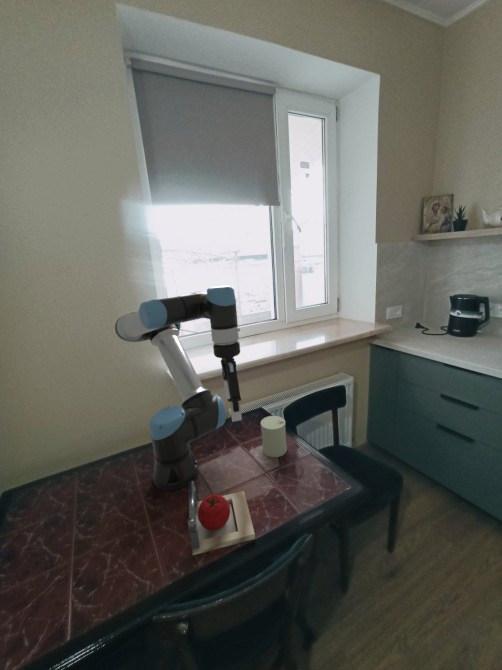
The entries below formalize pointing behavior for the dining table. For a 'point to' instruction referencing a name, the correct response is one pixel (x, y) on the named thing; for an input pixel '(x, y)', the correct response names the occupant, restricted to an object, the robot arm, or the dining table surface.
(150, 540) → the dining table surface
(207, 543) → the beige flat square frame
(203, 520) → the tomato
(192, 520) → the grey curved bar
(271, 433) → the can
